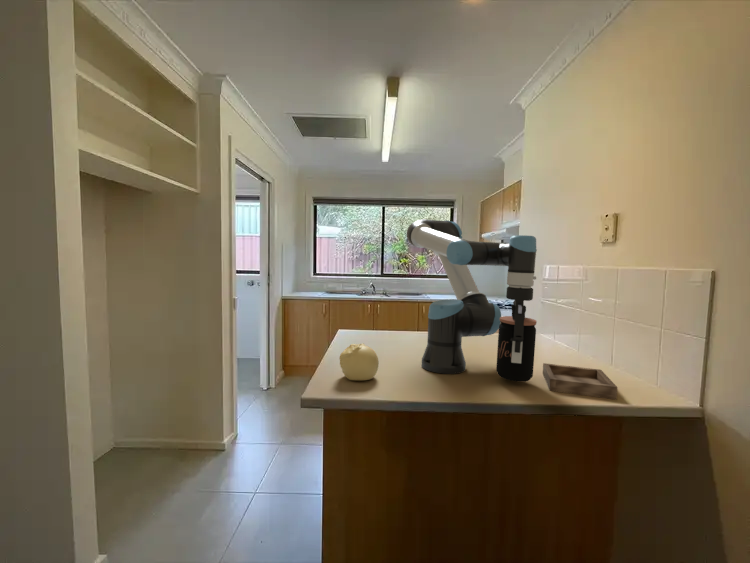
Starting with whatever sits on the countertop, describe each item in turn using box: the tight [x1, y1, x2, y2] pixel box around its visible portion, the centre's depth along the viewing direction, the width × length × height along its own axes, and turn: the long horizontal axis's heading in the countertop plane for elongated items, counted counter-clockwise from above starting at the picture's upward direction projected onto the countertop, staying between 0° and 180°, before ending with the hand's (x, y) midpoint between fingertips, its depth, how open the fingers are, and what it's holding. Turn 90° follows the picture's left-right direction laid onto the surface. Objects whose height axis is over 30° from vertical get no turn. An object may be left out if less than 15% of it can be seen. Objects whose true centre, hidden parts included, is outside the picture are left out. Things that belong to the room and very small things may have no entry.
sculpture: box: [339, 343, 379, 381], centre depth 111 cm, size 12×12×11 cm
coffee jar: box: [495, 315, 538, 383], centre depth 110 cm, size 11×11×18 cm
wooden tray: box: [542, 362, 618, 400], centre depth 111 cm, size 17×17×4 cm
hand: (515, 357), depth 111 cm, fingers closed on coffee jar, 11 cm apart
